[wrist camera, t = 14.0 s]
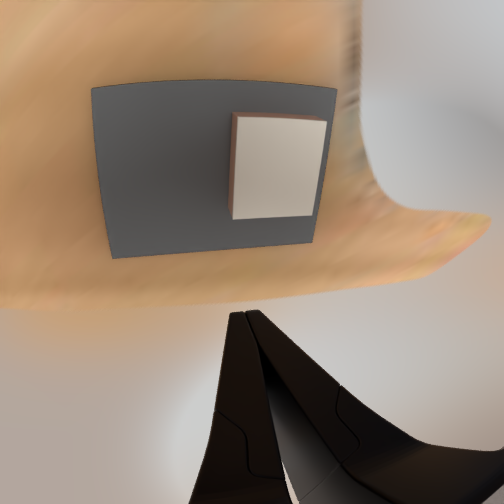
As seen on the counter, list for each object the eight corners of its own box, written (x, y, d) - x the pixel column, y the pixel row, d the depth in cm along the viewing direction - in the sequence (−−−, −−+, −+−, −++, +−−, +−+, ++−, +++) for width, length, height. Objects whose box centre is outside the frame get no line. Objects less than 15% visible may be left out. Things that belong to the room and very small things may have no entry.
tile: (232, 219, 19) (312, 215, 20) (238, 117, 15) (326, 121, 17) (227, 207, 20) (302, 203, 21) (232, 111, 17) (315, 115, 18)
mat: (113, 255, 20) (112, 258, 20) (92, 88, 14) (91, 88, 14) (309, 239, 24) (312, 242, 23) (334, 88, 17) (337, 89, 17)
